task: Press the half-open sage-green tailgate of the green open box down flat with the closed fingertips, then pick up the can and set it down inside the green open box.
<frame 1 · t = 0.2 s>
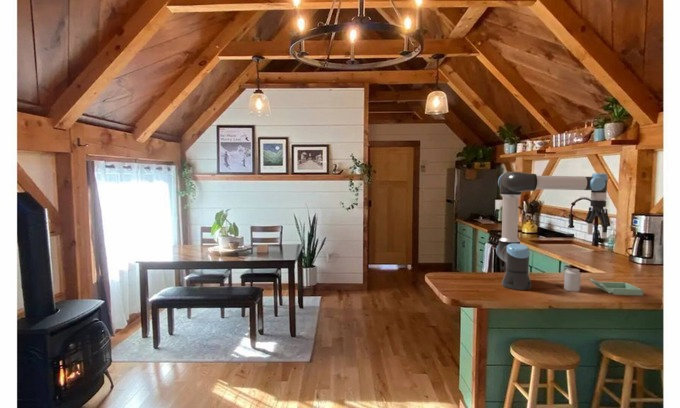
hand: (596, 236, 223), 27 cm above the table, fingers open, 13 cm apart
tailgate: (600, 286, 207), point 3 cm above the table, hinge at 45.0°
can: (571, 291, 209), on the table
green open box: (619, 292, 207), on the table
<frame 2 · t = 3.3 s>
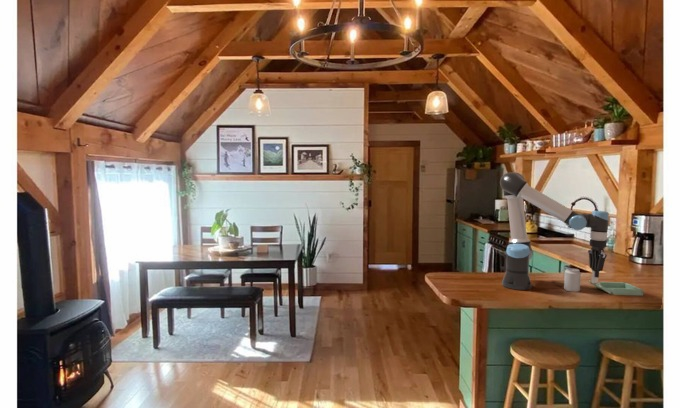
hand: (594, 282, 207), 5 cm above the table, fingers closed
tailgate: (599, 286, 207), point 3 cm above the table, hinge at 55.5°, touching gripper
everything else where it was.
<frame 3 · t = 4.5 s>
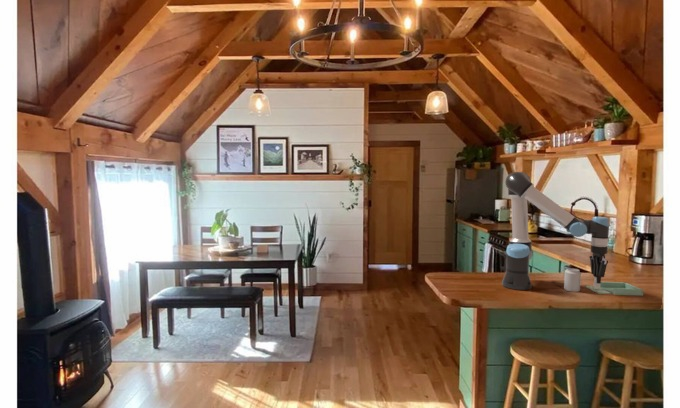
hand: (596, 288, 207), 2 cm above the table, fingers closed
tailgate: (597, 290, 208), point 1 cm above the table, hinge at 87.1°, touching gripper
everything else where it was.
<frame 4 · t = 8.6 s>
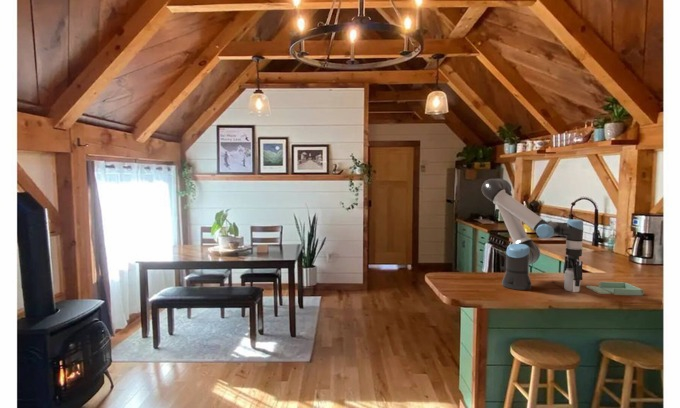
hand: (571, 289, 209), 1 cm above the table, fingers closed on can, 7 cm apart
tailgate: (597, 290, 208), point 1 cm above the table, hinge at 87.3°
can: (571, 291, 209), on the table, touching gripper
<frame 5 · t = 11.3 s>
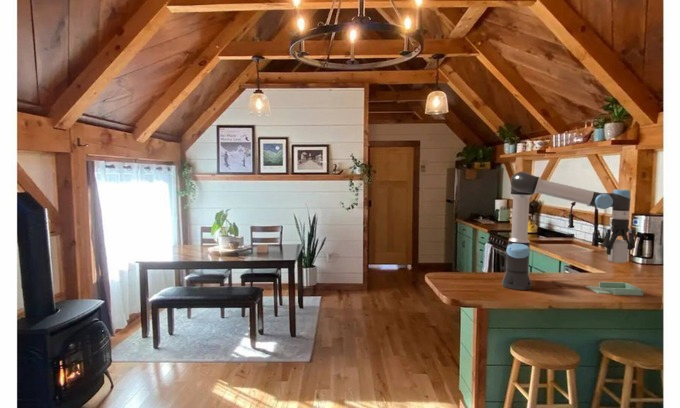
hand: (617, 260, 206), 17 cm above the table, fingers closed on can, 7 cm apart
can: (617, 262, 206), point 16 cm above the table, touching gripper
everything else where it was.
when the fingers open (4 cm above the table, at t = 14.2 s): can drops 2 cm, resting on green open box.
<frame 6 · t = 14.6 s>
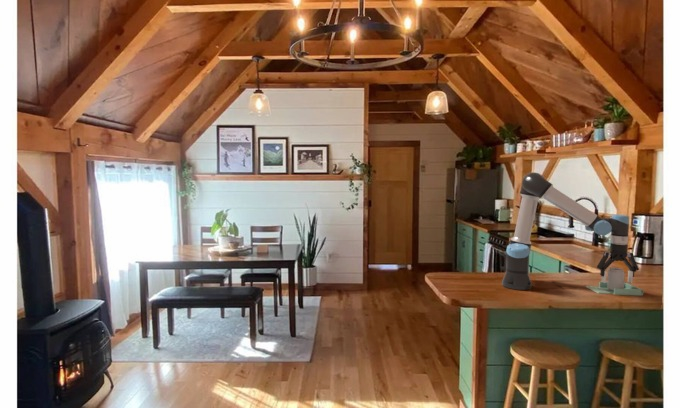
hand: (616, 282, 206), 5 cm above the table, fingers open, 13 cm apart
can: (615, 290, 207), point 1 cm above the table, touching green open box
everything else where it was.
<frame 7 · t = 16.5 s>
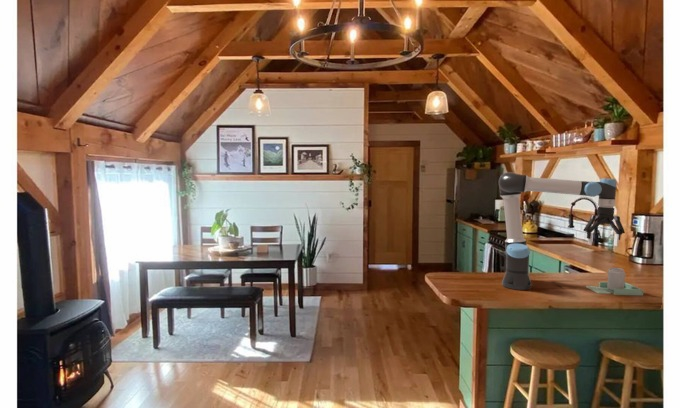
hand: (602, 245, 211), 24 cm above the table, fingers open, 13 cm apart
nothing on the table moved.
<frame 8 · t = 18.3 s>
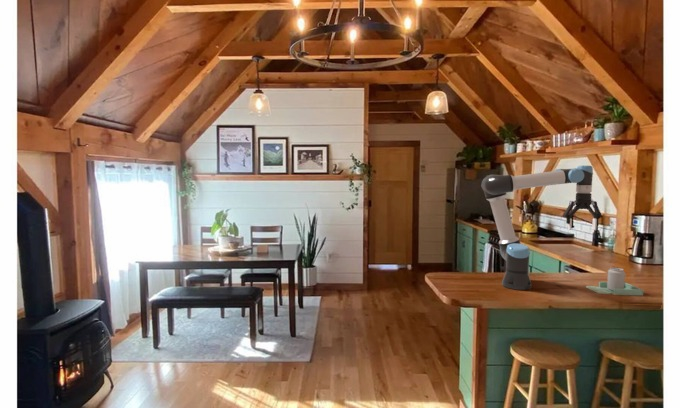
hand: (581, 229, 219), 32 cm above the table, fingers open, 13 cm apart
nothing on the table moved.
at the end: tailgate at +87° (first picture: +45°); can 1.9 cm from the green open box (horizontally); can tilted 0° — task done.
